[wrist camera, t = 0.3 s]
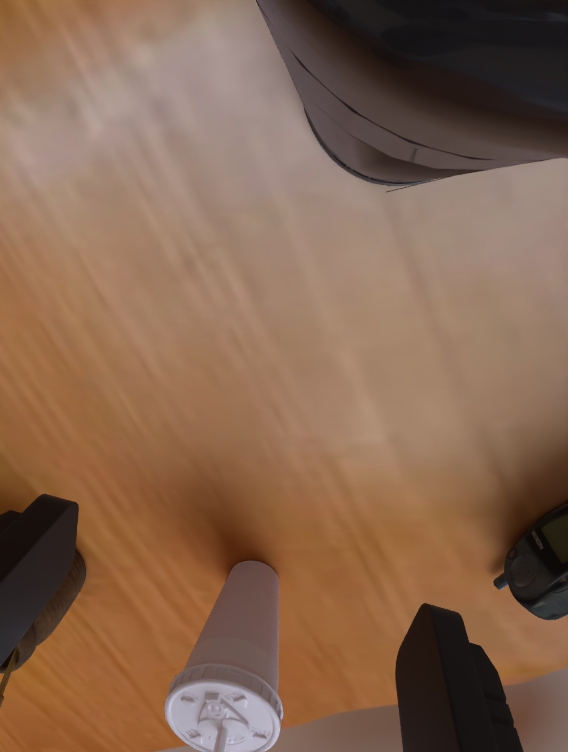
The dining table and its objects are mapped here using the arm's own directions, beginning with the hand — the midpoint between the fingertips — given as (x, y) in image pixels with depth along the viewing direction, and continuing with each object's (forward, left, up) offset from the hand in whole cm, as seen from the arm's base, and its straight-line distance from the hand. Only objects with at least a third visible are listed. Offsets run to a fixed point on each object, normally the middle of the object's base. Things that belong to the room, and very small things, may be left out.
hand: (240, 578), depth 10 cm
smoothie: (+18, +1, -17) cm, 25 cm away
